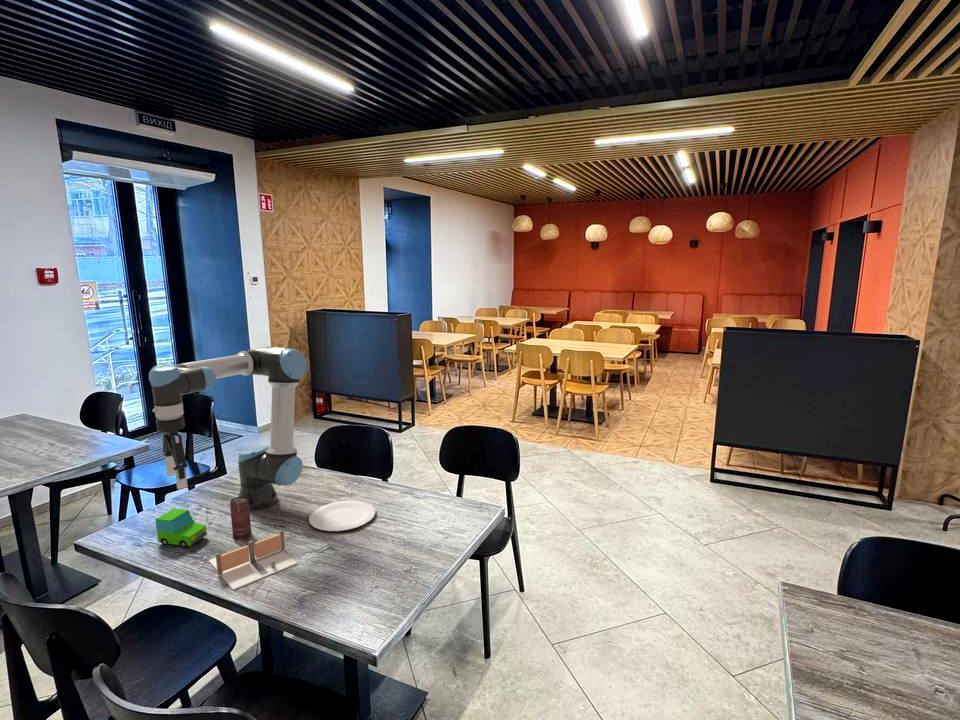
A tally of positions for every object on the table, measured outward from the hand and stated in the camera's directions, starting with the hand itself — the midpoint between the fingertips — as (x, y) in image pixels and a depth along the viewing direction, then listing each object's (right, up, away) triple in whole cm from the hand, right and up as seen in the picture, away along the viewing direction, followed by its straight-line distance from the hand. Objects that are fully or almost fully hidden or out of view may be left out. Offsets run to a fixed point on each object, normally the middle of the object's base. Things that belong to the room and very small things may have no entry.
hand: (177, 481), depth 163 cm
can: (+11, -25, +22) cm, 35 cm away
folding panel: (+18, -28, +1) cm, 33 cm away
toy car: (-9, -26, +19) cm, 33 cm away
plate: (+43, -23, +36) cm, 61 cm away
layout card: (+22, -28, +5) cm, 36 cm away
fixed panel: (+25, -27, +8) cm, 38 cm away
